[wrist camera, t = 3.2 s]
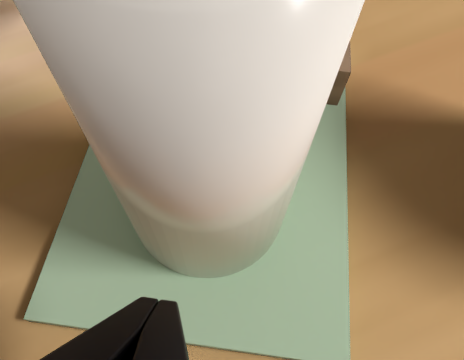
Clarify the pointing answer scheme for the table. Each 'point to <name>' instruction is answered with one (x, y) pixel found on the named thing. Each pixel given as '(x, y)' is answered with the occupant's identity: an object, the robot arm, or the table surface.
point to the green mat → (221, 288)
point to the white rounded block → (197, 111)
